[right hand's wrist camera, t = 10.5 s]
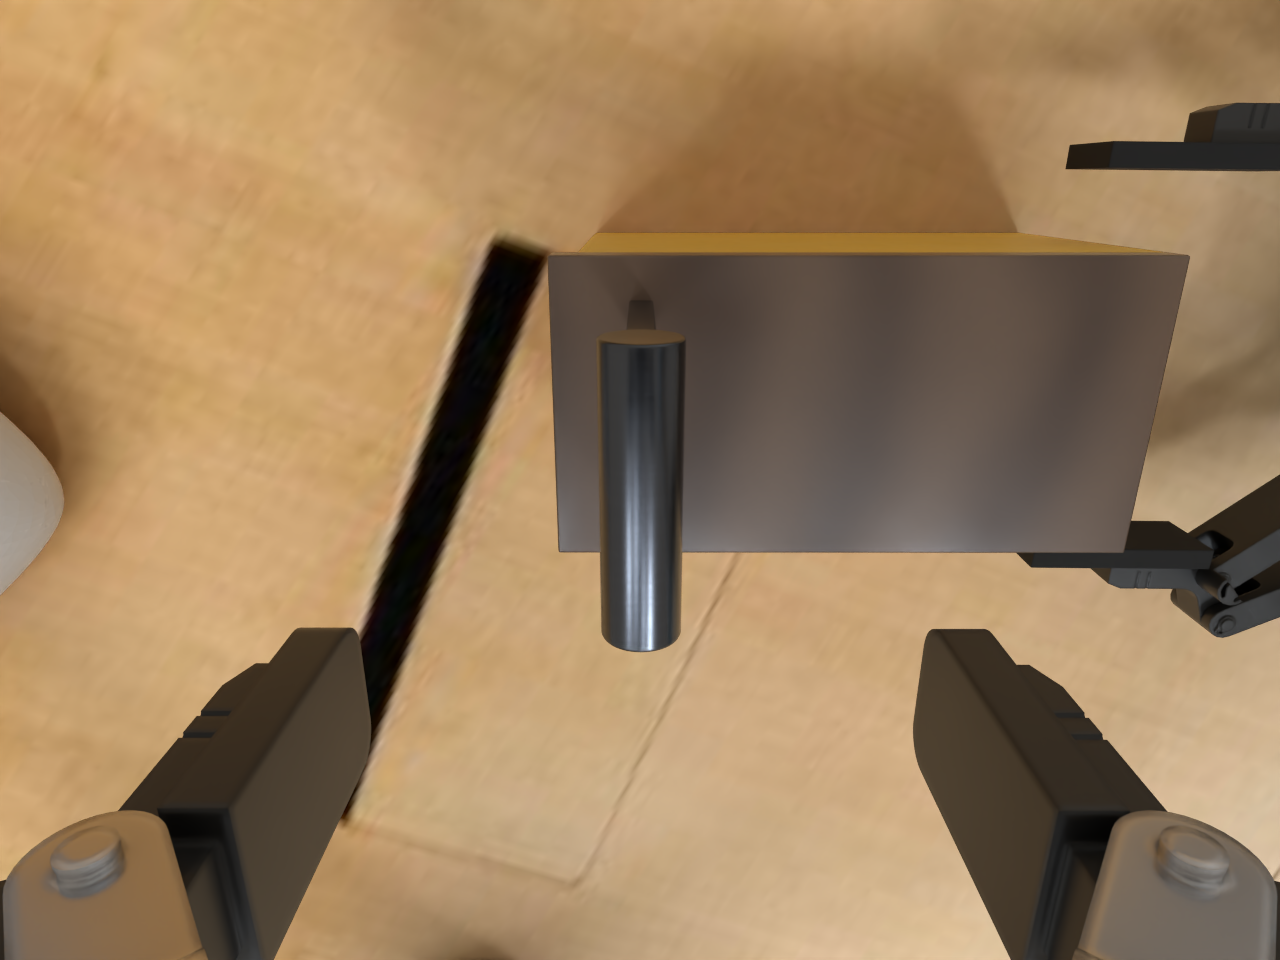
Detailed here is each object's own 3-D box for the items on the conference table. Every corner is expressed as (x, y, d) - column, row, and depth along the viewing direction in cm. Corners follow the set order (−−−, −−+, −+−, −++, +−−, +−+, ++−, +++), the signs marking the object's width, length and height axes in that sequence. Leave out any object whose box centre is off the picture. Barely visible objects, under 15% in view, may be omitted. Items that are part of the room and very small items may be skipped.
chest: (598, 447, 37) (584, 537, 27) (594, 232, 34) (577, 251, 24) (986, 447, 37) (1104, 537, 27) (1019, 232, 34) (1165, 252, 24)
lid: (561, 538, 27) (526, 694, 19) (551, 252, 24) (503, 288, 16) (1105, 538, 27) (1308, 694, 19) (1166, 252, 24) (1443, 288, 16)
